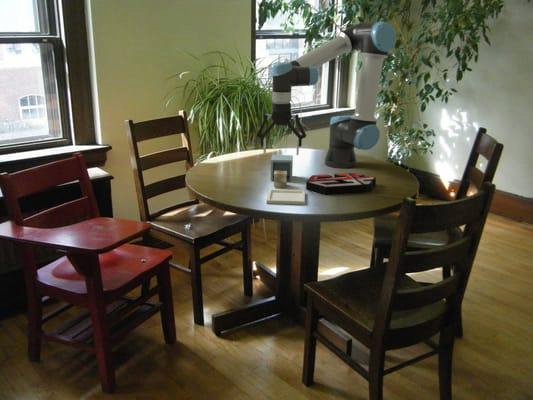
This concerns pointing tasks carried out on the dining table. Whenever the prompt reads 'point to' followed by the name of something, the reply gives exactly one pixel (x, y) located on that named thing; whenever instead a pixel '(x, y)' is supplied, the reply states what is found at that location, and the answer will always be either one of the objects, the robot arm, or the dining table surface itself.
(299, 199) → the tray
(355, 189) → the emblem
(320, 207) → the dining table surface
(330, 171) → the dining table surface
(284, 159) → the open box
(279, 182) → the block
